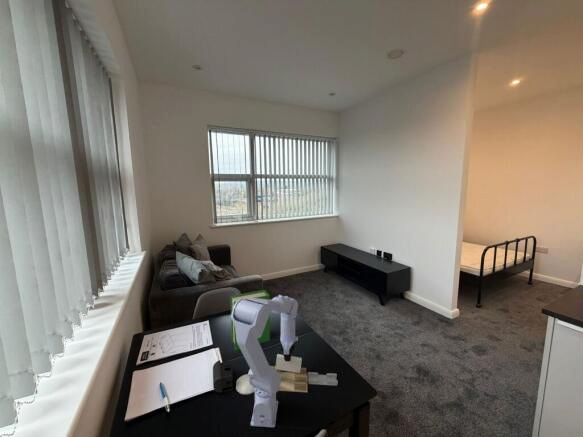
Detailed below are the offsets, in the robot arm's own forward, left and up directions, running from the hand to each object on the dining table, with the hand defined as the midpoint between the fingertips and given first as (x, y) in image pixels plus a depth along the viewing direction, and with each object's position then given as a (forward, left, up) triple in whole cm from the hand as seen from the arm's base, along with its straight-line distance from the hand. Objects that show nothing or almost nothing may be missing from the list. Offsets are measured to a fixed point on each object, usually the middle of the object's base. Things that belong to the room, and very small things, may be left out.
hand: (287, 358), depth 98 cm
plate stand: (0, -14, -9) cm, 17 cm away
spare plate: (-4, +16, -9) cm, 19 cm away
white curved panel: (0, 0, -5) cm, 5 cm away
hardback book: (+23, +21, -9) cm, 32 cm away
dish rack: (-2, 0, -9) cm, 9 cm away
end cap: (-4, +26, -9) cm, 27 cm away
